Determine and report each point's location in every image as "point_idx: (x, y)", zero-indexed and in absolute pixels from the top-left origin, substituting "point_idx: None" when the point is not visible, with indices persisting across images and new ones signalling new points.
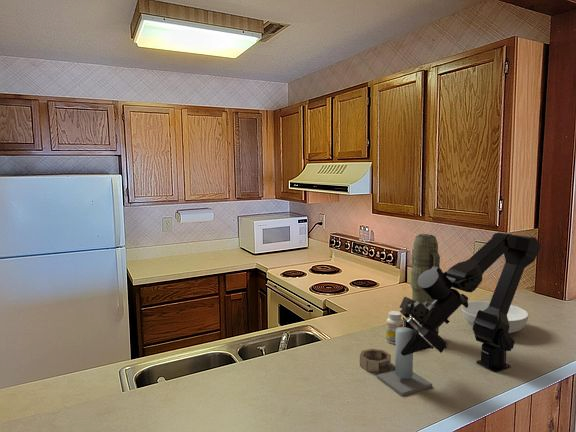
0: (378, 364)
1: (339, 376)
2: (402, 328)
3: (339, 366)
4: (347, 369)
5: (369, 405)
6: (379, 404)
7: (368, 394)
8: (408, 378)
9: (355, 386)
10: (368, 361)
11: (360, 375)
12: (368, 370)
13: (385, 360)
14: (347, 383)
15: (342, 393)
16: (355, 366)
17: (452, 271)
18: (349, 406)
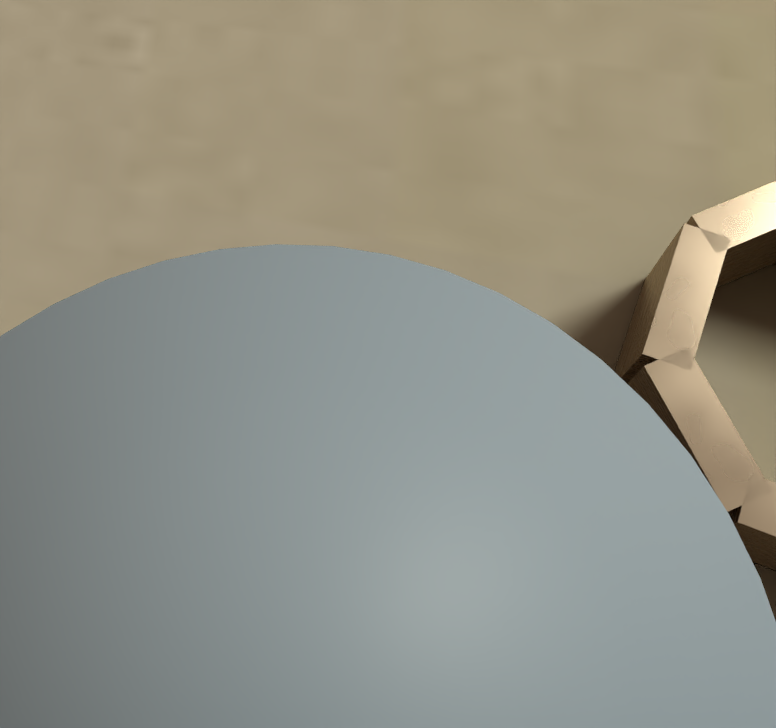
0: (636, 357)
1: (532, 24)
2: (575, 713)
3: (736, 43)
4: (676, 103)
5: (32, 187)
6: (29, 267)
7: (199, 210)
8: None
9: (345, 127)
10: (677, 237)
11: (552, 201)
12: (644, 287)
13: (714, 457)
14: (402, 72)
15: (243, 18)
16: (750, 184)
17: None
18: (52, 45)
